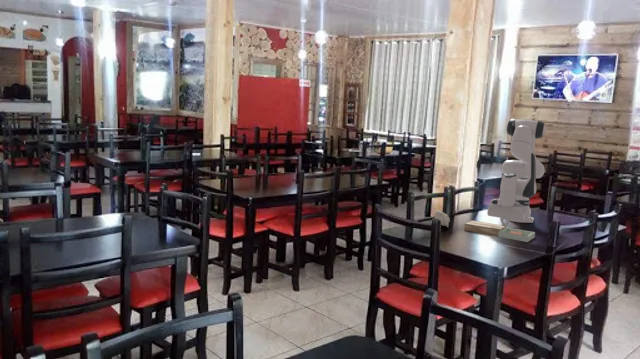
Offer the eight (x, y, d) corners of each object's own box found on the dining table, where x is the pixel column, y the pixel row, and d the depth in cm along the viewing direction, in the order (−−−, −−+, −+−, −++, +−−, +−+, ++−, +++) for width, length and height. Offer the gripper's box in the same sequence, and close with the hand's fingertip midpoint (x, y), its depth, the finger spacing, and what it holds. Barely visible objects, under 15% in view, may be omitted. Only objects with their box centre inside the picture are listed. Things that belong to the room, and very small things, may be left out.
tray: (505, 232, 318) (506, 227, 318) (534, 237, 309) (535, 232, 309) (497, 236, 306) (498, 231, 306) (527, 242, 297) (527, 236, 296)
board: (471, 226, 329) (472, 220, 328) (505, 232, 317) (506, 226, 317) (464, 230, 318) (464, 223, 318) (498, 236, 307) (499, 229, 306)
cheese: (437, 223, 310) (451, 205, 317) (427, 220, 316) (441, 202, 322) (444, 241, 319) (458, 223, 325) (434, 237, 324) (447, 220, 330)
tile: (522, 232, 308) (522, 236, 308) (512, 231, 311) (511, 234, 312) (519, 234, 303) (519, 238, 303) (509, 232, 306) (508, 236, 307)
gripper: (527, 204, 306) (524, 228, 307) (491, 199, 317) (488, 222, 319) (524, 205, 300) (521, 230, 302) (487, 200, 312) (485, 224, 314)
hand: (504, 226), depth 311 cm, fingers closed
